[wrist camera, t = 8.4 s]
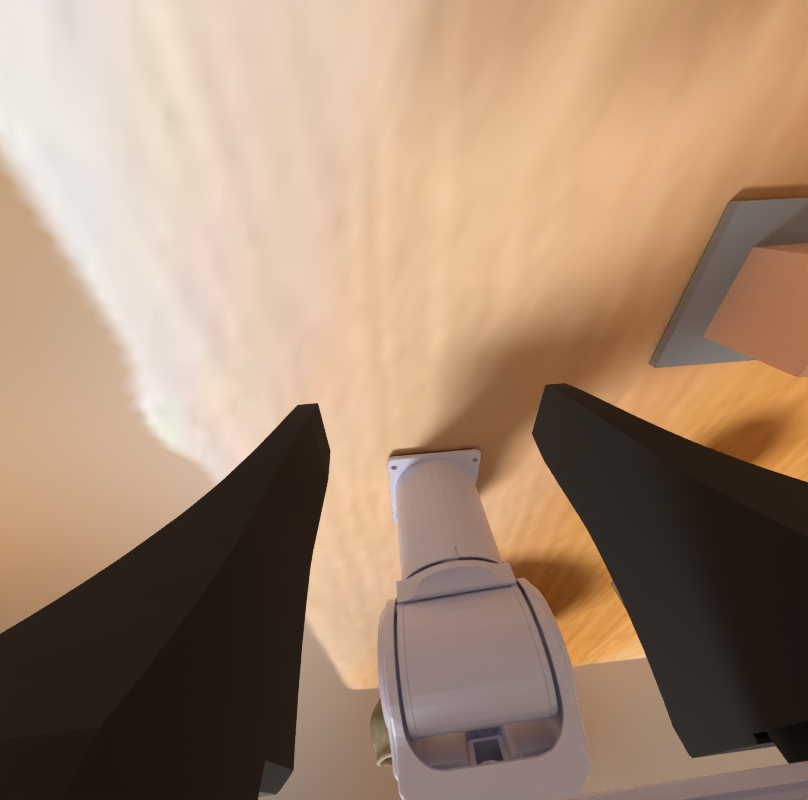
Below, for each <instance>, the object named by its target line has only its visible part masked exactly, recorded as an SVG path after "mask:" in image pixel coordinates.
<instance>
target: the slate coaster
mask: <svg viewBox="0 0 808 800" xmlns="http://www.w3.org/2000/svg"><path fill="white" fill-rule="evenodd" d="M801 243H808V197H801V198H782V199H764V200H745V201H730V202H729V204H728V206H727V208H726V210H725V212H724V214H723V216H722V218H721V220H720V222H719V224H718V226H717V228H716V230H715V232H714V234H713V236H712V238H711V240H710V242H709V244H708V246H707V248H706V250H705V252H704V254H703V256H702V258H701V260H700V262H699V264H698V266H697V268H696V270H695V272H694V274H693V276H692V278H691V280H690V282H689V284H688V286H687V288H686V290H685V292H684V294H683V296H682V298H681V300H680V302H679V304H678V306H677V308H676V310H675V312H674V314H673V316H672V318H671V320H670V322H669V324H668V326H667V328H666V330H665V332H664V334H663V336H662V338H661V340H660V342H659V344H658V346H657V348H656V350H655V352H654V354H653V356H652V358H651V361H650V363H649V364H650V365H651V366H653V367H655V368H660V367H672V366H685V365H697V364H710V363H722V362H735V361H748V360H756V359H753V358H751V357H749V356H746V355H744V354H742V353H739V352H737V351H735V350H732V349H730V348H728V347H725V346H723V345H720V344H718V343H716V342H713V341H711V340H709V339H706V338H704V337H703V335H704V333H705V332H706V330H707V328H708V326H709V324H710V323H711V321H712V319H713V317H714V316H715V314H716V312H717V310H718V309H719V307H720V305H721V303H722V301H723V300H724V298H725V296H726V294H727V293H728V291H729V289H730V287H731V286H732V284H733V282H734V280H735V279H736V277H737V275H738V273H739V271H740V270H741V268H742V266H743V264H744V263H745V261H746V259H747V257H748V256H749V254H750V252H751V250H752V248H753V247H763V246H776V245H788V244H801Z"/></svg>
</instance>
